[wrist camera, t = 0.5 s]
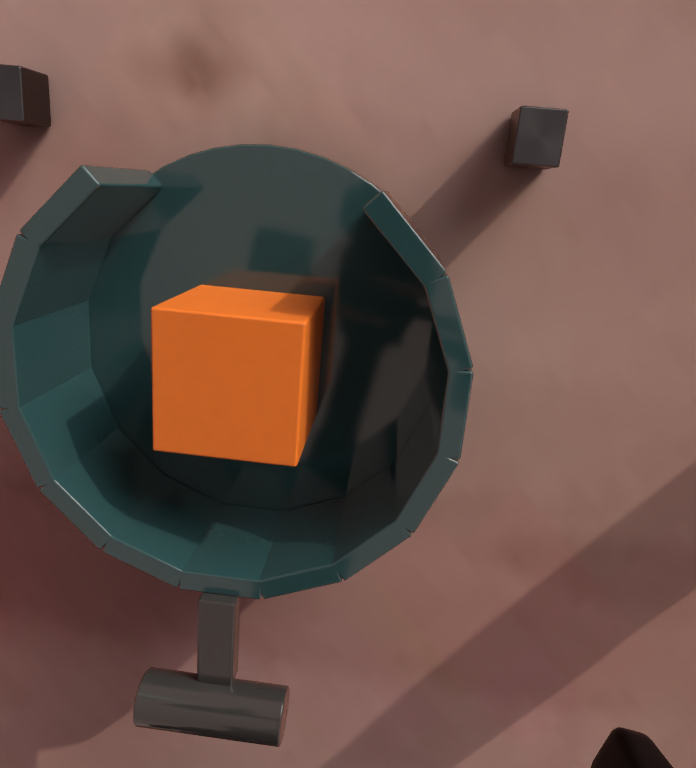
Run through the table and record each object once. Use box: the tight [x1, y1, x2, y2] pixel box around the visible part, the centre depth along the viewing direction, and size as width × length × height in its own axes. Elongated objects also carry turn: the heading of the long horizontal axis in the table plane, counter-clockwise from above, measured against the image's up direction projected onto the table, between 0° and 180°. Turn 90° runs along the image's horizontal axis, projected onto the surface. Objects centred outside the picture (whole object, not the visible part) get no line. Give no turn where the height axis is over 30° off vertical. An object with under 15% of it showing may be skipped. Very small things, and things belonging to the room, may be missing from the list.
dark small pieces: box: [0, 64, 569, 169], centre depth 19 cm, size 2×18×2 cm, turn 85°
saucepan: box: [0, 144, 473, 747], centre depth 20 cm, size 19×14×6 cm
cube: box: [151, 285, 325, 467], centre depth 20 cm, size 4×4×4 cm
